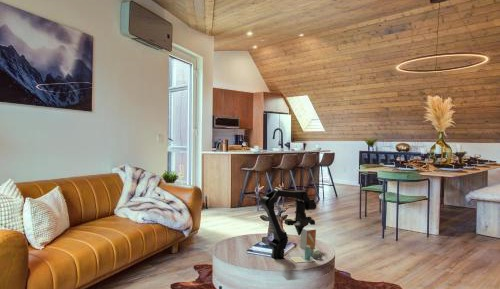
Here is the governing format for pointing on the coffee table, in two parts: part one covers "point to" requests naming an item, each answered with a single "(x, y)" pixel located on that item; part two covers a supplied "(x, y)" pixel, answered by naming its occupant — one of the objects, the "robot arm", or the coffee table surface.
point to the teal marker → (307, 252)
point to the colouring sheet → (300, 259)
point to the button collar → (316, 255)
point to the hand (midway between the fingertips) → (299, 235)
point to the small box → (308, 237)
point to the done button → (316, 252)
